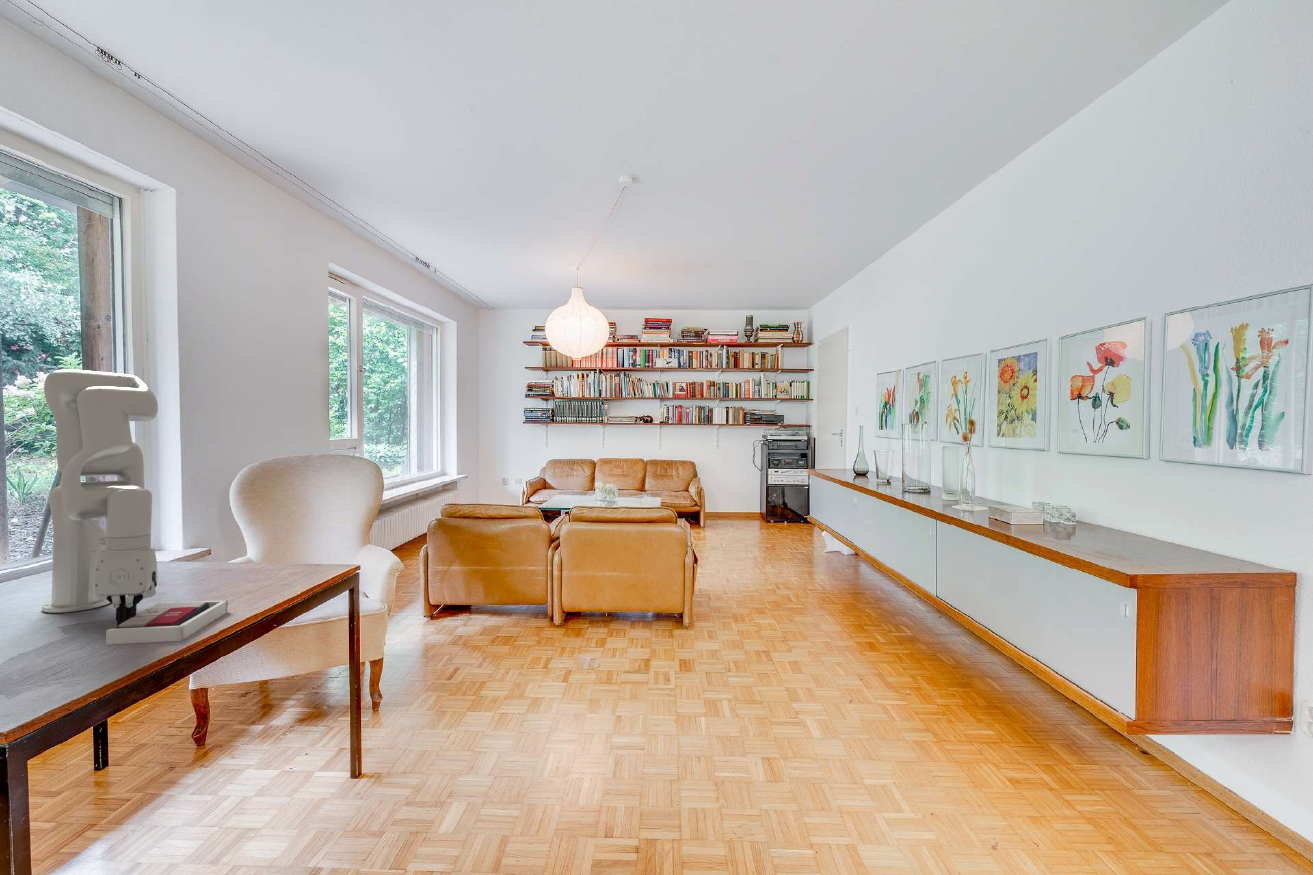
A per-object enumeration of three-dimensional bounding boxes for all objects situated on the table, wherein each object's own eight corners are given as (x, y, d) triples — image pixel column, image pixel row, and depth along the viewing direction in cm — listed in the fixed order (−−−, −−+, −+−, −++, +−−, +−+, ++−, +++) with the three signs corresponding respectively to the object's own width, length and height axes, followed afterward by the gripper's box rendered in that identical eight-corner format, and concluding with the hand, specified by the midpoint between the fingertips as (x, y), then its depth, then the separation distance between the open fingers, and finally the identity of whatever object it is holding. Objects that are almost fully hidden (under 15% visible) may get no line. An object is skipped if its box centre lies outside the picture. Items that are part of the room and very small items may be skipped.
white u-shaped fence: (164, 614, 136) (164, 602, 136) (227, 611, 140) (227, 600, 140) (105, 644, 117) (106, 630, 117) (181, 640, 120) (181, 626, 120)
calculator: (114, 624, 120) (156, 601, 134) (114, 644, 120) (156, 618, 134) (174, 621, 122) (209, 598, 137) (174, 640, 123) (209, 615, 137)
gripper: (75, 547, 120) (72, 631, 120) (157, 545, 124) (154, 627, 124) (100, 540, 128) (98, 619, 128) (176, 539, 131) (174, 616, 131)
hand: (125, 623), depth 126 cm, fingers closed
